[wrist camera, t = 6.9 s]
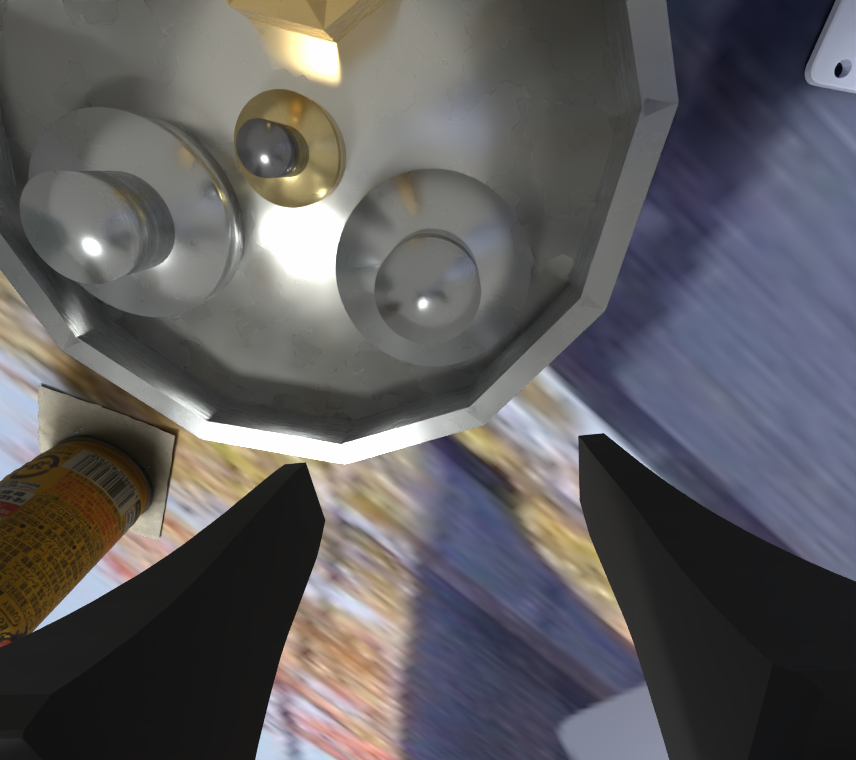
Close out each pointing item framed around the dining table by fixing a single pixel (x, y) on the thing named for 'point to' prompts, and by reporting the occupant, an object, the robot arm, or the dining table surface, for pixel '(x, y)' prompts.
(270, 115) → the tray
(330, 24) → the brass octagonal knob
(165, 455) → the condiment
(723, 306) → the dining table surface
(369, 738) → the dining table surface
